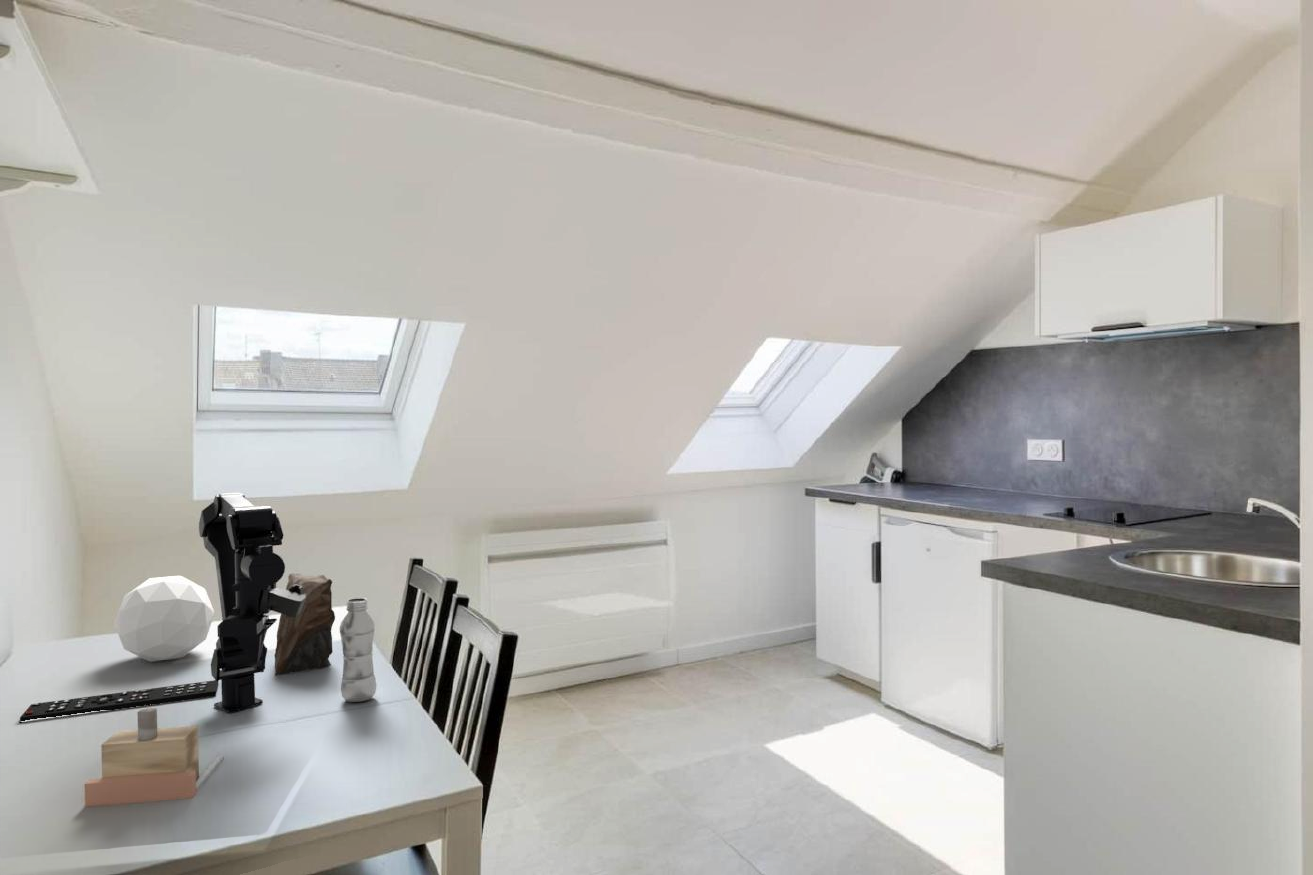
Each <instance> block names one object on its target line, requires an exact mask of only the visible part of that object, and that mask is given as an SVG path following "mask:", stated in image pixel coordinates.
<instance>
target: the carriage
mask: <svg viewBox="0 0 1313 875" xmlns="http://www.w3.org/2000/svg"><path fill="white" fill-rule="evenodd" d="M100 746H101V748H100V749H101V750H100V751H101V778H111V777H124V776H137V775H150V774H163V773H176V772H189V771H196V781H197V780H198V779H199V778H200V770H199V769H200V764H199V763H200V762H199V759H200V758H199V725H189V726H175V727H172V726H171V727H162V728H161V727H160V728H158V708H156V707H147V708H143V709H140V710H138V711H137V729H131V730H130V729H129V730H127V729H126V730H118V731H117V732H116V733H114V734H113V735H112V736H111V737H109V738H108V739H106V740H105V741H104V742H103V743H102V744H100Z"/></svg>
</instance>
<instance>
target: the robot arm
mask: <svg viewBox="0 0 1313 875" xmlns="http://www.w3.org/2000/svg"><path fill="white" fill-rule="evenodd" d="M198 532H199V537H200V538H202V539H203V545H204V549H206V551H207V552H208V553H209V554H210V555H211V556H212V557H213V558H214V561H215V569H216V578H217V584H218V585H217V586H218V593H219V601H220V612H221V619H222V621H220V623H219V624H218V625H217V627H216V628H217V637H218V639H217V641H216V643H215V648H214V650H213V653H212V658H211V663H210V673H211V677H212V678H213V680H216V681H218V682H219V681H220V683H221V686H220V687H221V701H219V702H215V703H214V704H213V706H214V707H215V708H216V709H219V710H223V711H225V712H227V713H230V714H231V713H235V712H238V711H241V710H242V711H243V710H244V709H247V708H252V707H254V706H258V705H261V704H263V703H264V701H263V699H261V698H258V697H256V684H255V683H256V682H255V674H256V673H257V674H258V673H264V671H265V670H266V659H267V653H268V648H267V646H265V645H266V644H265V640H266V639H265V638H266V636H267V631H268V630H269V628H271V627H272V626H273V625H274V624H275V623H276V621H278V619H277V618H270V615H268V614H269V613H270V612H271V611H272V612H276V613H279V614H281V613H282V614H285V615H286V616H288V617H293V618H295V617H297V615H298V614H300V613H301V610H302V607H303V605H304V602H305V601H306V594H304V592H303V586H300V585H297V584H295V585H293V586H292V587H291V588H290V589H289V590H286V587H285V588H279V587H277V583H278V582H279V581H280V580H281V579H282V577H284V574H285V571H286V570H285V569H286V564H285V561H284V560H283V558H282V557H281V555H279V554H277V553H275V552H274V548H273V547H275V546H282V545H283V541H282V540H283V539H284V531H283V528H282V525H281V521H280V518H279V517H278V516H277V512H275V511H273V508H272V506H270V505H254V503H253V504H252V502H251V501H249V500H248V499H246V496H245V493H241V492H230V493H228V492H227V493H219V494H217V495H214V499H213V502H211V503H210V504H208V506H205V508H204V509H202V510H201V514H200V518H199V522H198Z"/></svg>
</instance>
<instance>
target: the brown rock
mask: <svg viewBox="0 0 1313 875" xmlns="http://www.w3.org/2000/svg"><path fill="white" fill-rule="evenodd" d="M332 583H333V581H332V579H330V578H327V577H326V576H325V575H324V574H318V575H302V574H301V573H290V574H289V575H288V581H287V584H286V586H285V588H286V590H289V589H290V588H291V587H292V586H293V585H295V584H297V585H300V586H303V592H304V594H306V601H305V602H304V605H303V607H302V610H301V613H300V614H298V615H297V617H295V618H293V617H288V616H286V615H285V614H282V613H280V617H279V621H278V627H277V632H276V647H275V653H274V676H275V677H276V676H282V675H287V674H294V673H299V672H307V671H311V670H319V669H325V668H327V667H331V666H332V664H331V662H330V659H329V658H330V657H331V655H332V654H333V651H334V650H333V634H332V629H333V628H332V627H333V625H334V623H335V620H336V613H335V611H334V610H333V609H332V608H333V606H332V603H333V602H332V599H333V596H332V595H333V593H332Z"/></svg>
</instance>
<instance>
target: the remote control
mask: <svg viewBox="0 0 1313 875" xmlns="http://www.w3.org/2000/svg"><path fill="white" fill-rule="evenodd" d="M219 683H220V682H219V681H216V680H215V679H213V680H206V681H200V682H193V683H192V682H191V683H185V684H183V683H182V684H177V685H176V684H175V685H168V686H161V687H154V688H153V687H152V688H146V689H137V690H130V691H129V690H127V691H122V692H115V693H105V694H99V695H92V696H84V697H82V696H81V697H76V698H68V699H60V700H59V699H58V700H54V701H53V700H52V701H45V702H36V703H31V704H30V705H29V706H28V708H27V709H25V711H24V712H23V713H22V714H21V716H20V717H19V722H20V721H25V720H30V719H37V718H46V717H56V716H62V715H71V714H77V713H85V712H91V711H100V710H112V711H116V710H115V709H119V710H123V709H122V708H127V709H131V708H130V707H134V708H137V707H136V706H141V707H145V706H144V705H149V706H153V705H152V704H156V705H161V704H160V703H163V704H169V703H168V702H170V703H176V702H175V701H178V702H182V700H185V701H190V700H191V701H192V700H199V699H206V698H212V697H213V698H214V697H216V696H217V692H218V689H219ZM150 704H151V705H150Z"/></svg>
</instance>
